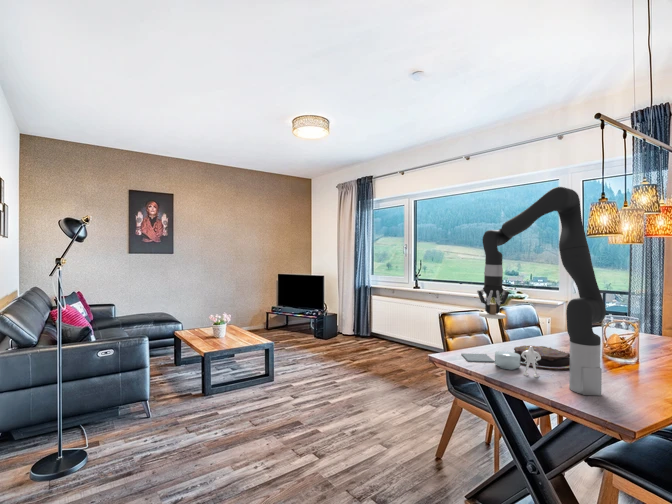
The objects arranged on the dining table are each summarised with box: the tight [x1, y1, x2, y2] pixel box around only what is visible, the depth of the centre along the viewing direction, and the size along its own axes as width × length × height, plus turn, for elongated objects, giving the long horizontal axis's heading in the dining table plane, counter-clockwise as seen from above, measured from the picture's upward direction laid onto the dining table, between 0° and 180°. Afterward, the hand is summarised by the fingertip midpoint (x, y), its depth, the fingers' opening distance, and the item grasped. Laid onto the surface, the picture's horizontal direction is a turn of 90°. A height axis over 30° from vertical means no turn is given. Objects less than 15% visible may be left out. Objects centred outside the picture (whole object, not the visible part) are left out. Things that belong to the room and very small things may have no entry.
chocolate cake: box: [513, 345, 570, 371], centre depth 170 cm, size 28×28×7 cm
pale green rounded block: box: [494, 350, 521, 370], centre depth 160 cm, size 10×10×6 cm
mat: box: [461, 352, 495, 363], centre depth 173 cm, size 12×12×1 cm
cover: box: [478, 302, 507, 320], centre depth 167 cm, size 11×11×6 cm
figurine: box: [521, 345, 541, 378], centre depth 149 cm, size 7×4×12 cm, turn 59°
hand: (492, 313), depth 167 cm, fingers closed on cover, 3 cm apart
